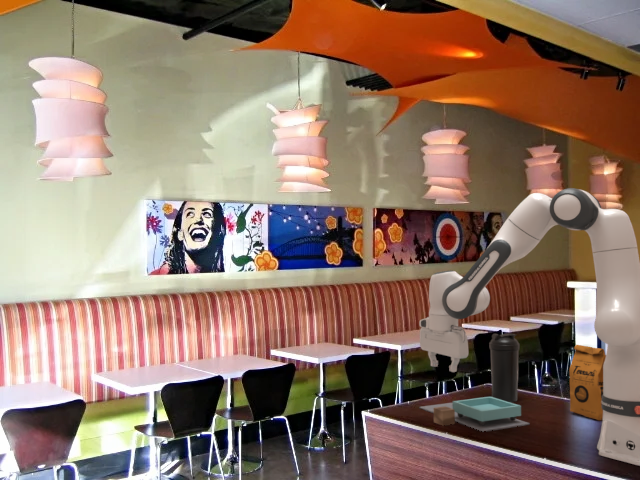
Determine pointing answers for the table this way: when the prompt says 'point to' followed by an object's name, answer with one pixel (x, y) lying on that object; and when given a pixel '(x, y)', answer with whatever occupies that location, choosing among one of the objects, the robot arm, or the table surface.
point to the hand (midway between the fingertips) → (443, 368)
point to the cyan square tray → (486, 409)
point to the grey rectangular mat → (474, 423)
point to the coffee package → (587, 381)
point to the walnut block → (444, 416)
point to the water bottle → (504, 366)
